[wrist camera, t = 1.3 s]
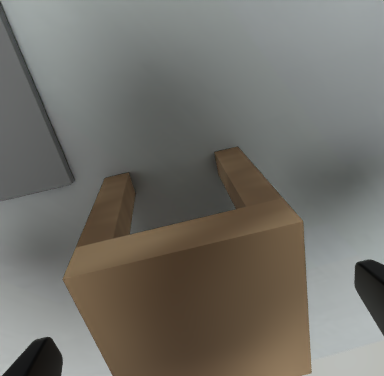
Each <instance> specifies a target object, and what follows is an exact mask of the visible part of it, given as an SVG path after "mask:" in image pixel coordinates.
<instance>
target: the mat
mask: <svg viewBox="0 0 384 376" xmlns="http://www.w3.org/2000/svg"><path fill="white" fill-rule="evenodd" d="M73 182H74V179H73V176H72V174H71V171H70V169H69V167H68V164H67V162H66V160H65V157H64V155H63V152H62V150H61V148H60V145H59V143H58V140H57V138H56V136H55V133H54V131H53V129H52V126H51V124H50V121H49V119H48V117H47V114H46V112H45V109H44V107H43V105H42V102H41V100H40V98H39V95H38V93H37V90H36V88H35V86H34V83H33V81H32V78H31V76H30V74H29V71H28V69H27V67H26V64H25V62H24V59H23V57H22V55H21V52H20V50H19V47H18V45H17V43H16V40H15V38H14V36H13V33H12V31H11V28H10V26H9V24H8V21H7V19H6V17H5V14H4V12H3V9H2V7H1V5H0V201H4V200H8V199H12V198H17V197H21V196H25V195H29V194H33V193H38V192H42V191H46V190H50V189H55V188H59V187H63V186H67V185H71V184H72V183H73Z"/></svg>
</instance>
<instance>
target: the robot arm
mask: <svg viewBox="0 0 384 376" xmlns="http://www.w3.org/2000/svg"><path fill="white" fill-rule="evenodd" d="M354 284H355V288H356V291H357V292H358V294H359V296H360V297H361V299H362V301H363V302H364V304H365V306H366V307H367V309H368V311H369V312H370V314H371V316H372V317H373V319H374V321H375V322H376V324H377V326H378V327H379V329H380V331H381V332H382V334H383V336H384V265H383V264H381V263H378V262H376V261H374V260H364V261H360V262H357V263H356V265H355V280H354ZM62 365H63V358H62V354H61V352H60V351H59V349H58V348H57V346H56V344H55V343H54V341H53V339H52V338H50V337H44V338H40V339H36V340H34V341H33V342H32V343H31V344H30V345H29V346H28V348H27V349H26V350H25V351H24V352H23V353H22V354H21V355H20V356H19V357H18V359H17V360H16V361H15V362H14V363H13V364H12V365H11V366H10V367H9V369H8V370H7V371H6V372H5V373H4V374H3V375H2V376H61V372H62Z"/></svg>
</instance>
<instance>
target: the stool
mask: <svg viewBox="0 0 384 376" xmlns="http://www.w3.org/2000/svg"><path fill="white" fill-rule="evenodd" d="M214 154H215V159H216V165H217V170H218V175H219V177H220V178H221V180H222V182H223V184H224V186H225V188H226V190H227V192H228V194H229V196H230V198H231V200H232V202H233V204H234V206H235V208H236V209H235V210H231V211H226V212H222V213H218V214H214V215H210V216H206V217H201V218H197V219H193V220H189V221H185V222H181V223H176V224H172V225H168V226H164V227H160V228H156V229H151V230H147V231H143V232H139V233H135V234H131V235H129V234H130V228H131V221H132V215H133V208H134V201H135V195H136V193H135V190H134V187H133V184H132V181H131V178H130V175H129V172H128V173H124V174H120V175H115V176H111V177H107V178H105V179H104V181H103V184H102V186H101V188H100V191H99V193H98V195H97V198H96V200H95V203H94V205H93V207H92V210H91V212H90V215H89V217H88V219H87V222H86V224H85V227H84V229H83V231H82V234H81V236H80V239H79V241H78V243H77V246H76V248H75V250H74V253H73V255H72V258H71V260H70V262H69V265H68V267H67V270H66V272H65V274H64V277H63V281H64V283H65V285H66V287H67V289H68V291H69V293H70V295H71V297H72V298H73V300H74V302H75V304H76V306H77V308H78V310H79V312H80V314H81V316H82V318H83V320H84V321H85V323H86V325H87V327H88V329H89V331H90V333H91V335H92V337H93V339H94V341H95V343H96V345H97V346H98V348H99V350H100V352H101V354H102V356H103V358H104V360H105V362H106V364H107V366H108V368H109V369H110V371H111V373H112V375H113V376H302V375H306V374H310V373H311V372H312V371H311V353H310V335H309V317H308V299H307V281H306V263H305V245H304V227H303V220H302V219H301V218H300V217H299V216H298V215H297V214H296V212H295V211H294V210H293V209H292V208H291V207H290V206H289V204H288V203H287V202H286V201H285V200H284V199H283V198H282V196H281V195H280V194H279V193H278V192H277V191H276V190H275V188H274V187H273V186H272V185H271V184H270V183H269V182H268V180H267V179H266V178H265V177H264V176H263V175H262V174H261V172H260V171H259V170H258V169H257V168H256V167H255V166H254V164H253V163H252V162H251V161H250V160H249V159H248V158H247V156H246V155H245V154H244V153H243V152H242V151H241V150H240V148H239V147H233V148H229V149H225V150H221V151H217V152H214Z"/></svg>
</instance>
